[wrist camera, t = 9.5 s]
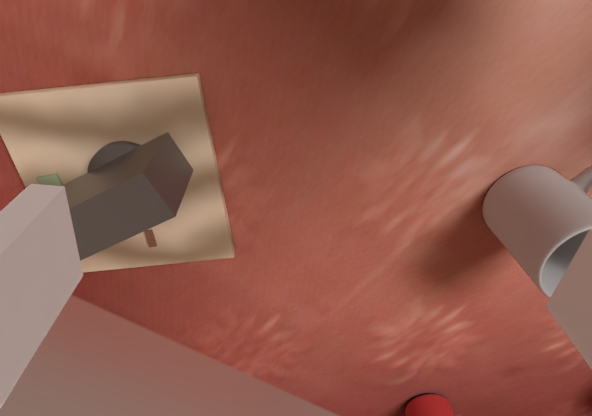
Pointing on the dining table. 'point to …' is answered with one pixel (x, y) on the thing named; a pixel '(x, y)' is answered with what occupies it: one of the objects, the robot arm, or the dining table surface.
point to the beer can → (429, 406)
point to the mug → (540, 219)
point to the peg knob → (126, 192)
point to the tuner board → (133, 128)
